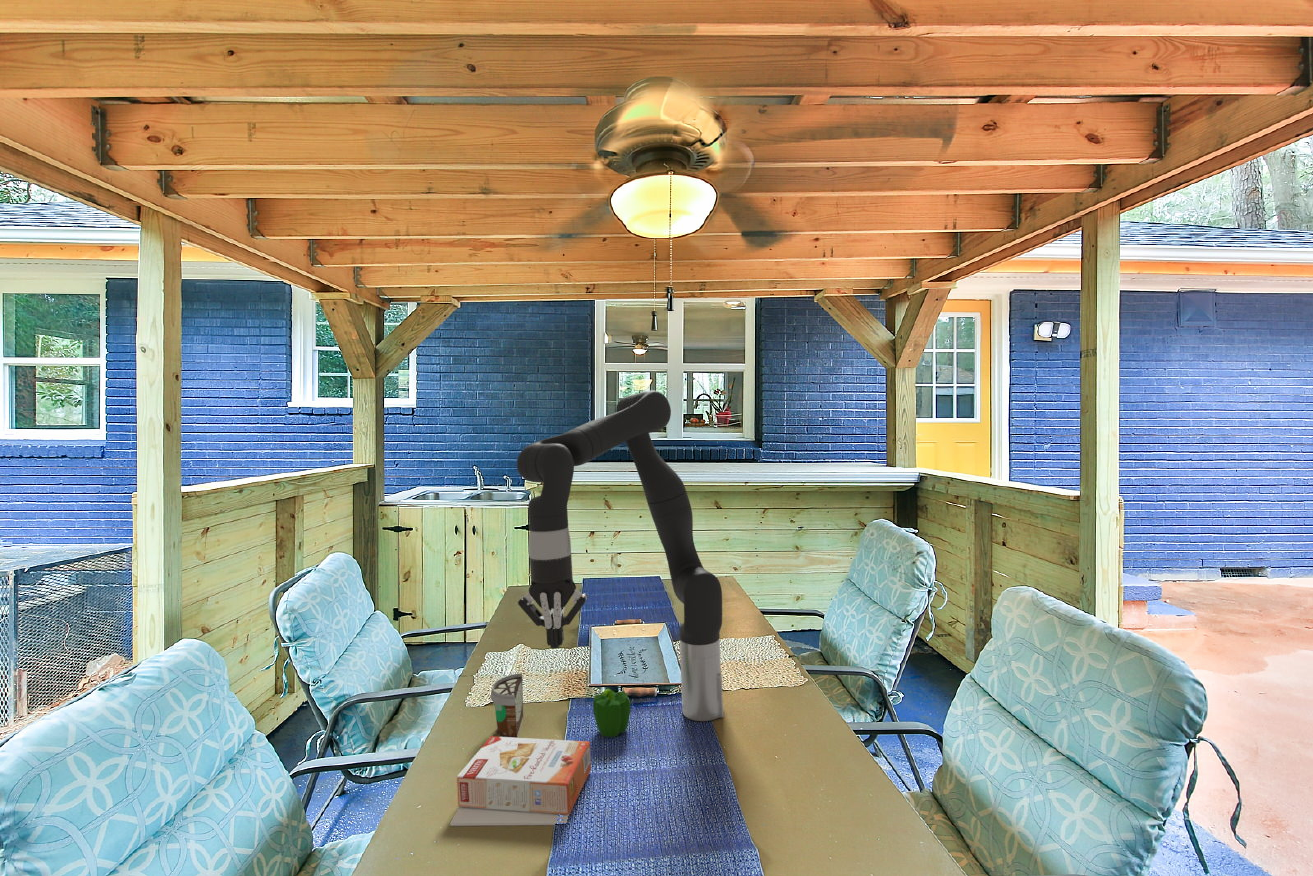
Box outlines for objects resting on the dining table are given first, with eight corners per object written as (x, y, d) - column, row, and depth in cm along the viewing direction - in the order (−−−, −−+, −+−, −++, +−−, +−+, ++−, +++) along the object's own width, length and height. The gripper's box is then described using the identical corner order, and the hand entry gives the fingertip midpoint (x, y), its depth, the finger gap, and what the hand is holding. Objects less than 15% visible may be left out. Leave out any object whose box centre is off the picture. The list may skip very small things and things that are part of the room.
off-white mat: (584, 763, 118) (584, 761, 118) (566, 824, 100) (566, 822, 100) (485, 764, 119) (485, 762, 119) (450, 825, 101) (450, 823, 101)
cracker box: (568, 781, 101) (454, 776, 105) (570, 816, 101) (456, 810, 105) (590, 738, 115) (489, 734, 118) (592, 768, 115) (490, 764, 119)
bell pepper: (614, 718, 136) (612, 675, 135) (638, 730, 130) (636, 685, 130) (585, 732, 130) (583, 687, 130) (609, 746, 124) (607, 699, 124)
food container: (497, 716, 139) (495, 674, 139) (524, 714, 139) (522, 672, 139) (487, 744, 127) (484, 698, 126) (516, 742, 127) (514, 696, 127)
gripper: (589, 547, 112) (594, 638, 112) (520, 550, 112) (525, 640, 113) (583, 556, 104) (588, 653, 105) (508, 559, 105) (514, 656, 105)
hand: (555, 646), depth 109 cm, fingers closed
